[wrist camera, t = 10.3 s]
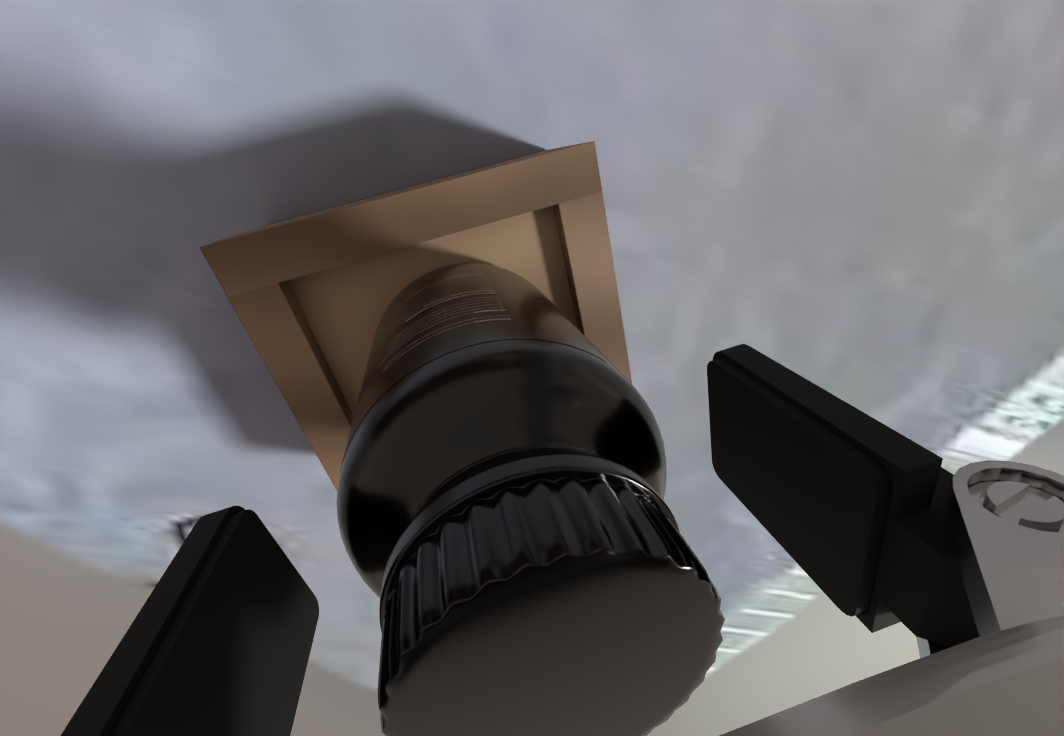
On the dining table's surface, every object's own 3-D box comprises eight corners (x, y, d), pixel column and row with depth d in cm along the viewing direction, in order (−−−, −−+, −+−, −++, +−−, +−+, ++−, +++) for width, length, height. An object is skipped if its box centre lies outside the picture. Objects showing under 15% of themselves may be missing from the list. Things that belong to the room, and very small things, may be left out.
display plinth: (264, 225, 18) (199, 247, 13) (547, 149, 19) (594, 141, 14) (379, 459, 23) (365, 542, 18) (595, 388, 24) (641, 446, 19)
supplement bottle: (367, 425, 17) (266, 875, 6) (383, 241, 14) (262, 448, 4) (540, 437, 19) (696, 795, 8) (580, 277, 16) (881, 481, 6)
